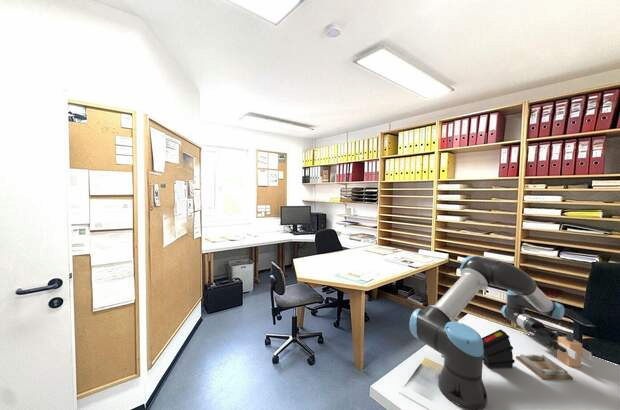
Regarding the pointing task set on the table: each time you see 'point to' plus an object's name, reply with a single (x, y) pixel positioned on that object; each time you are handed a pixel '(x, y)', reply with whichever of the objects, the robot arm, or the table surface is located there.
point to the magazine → (497, 350)
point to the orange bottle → (573, 346)
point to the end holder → (544, 367)
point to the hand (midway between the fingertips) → (582, 356)
